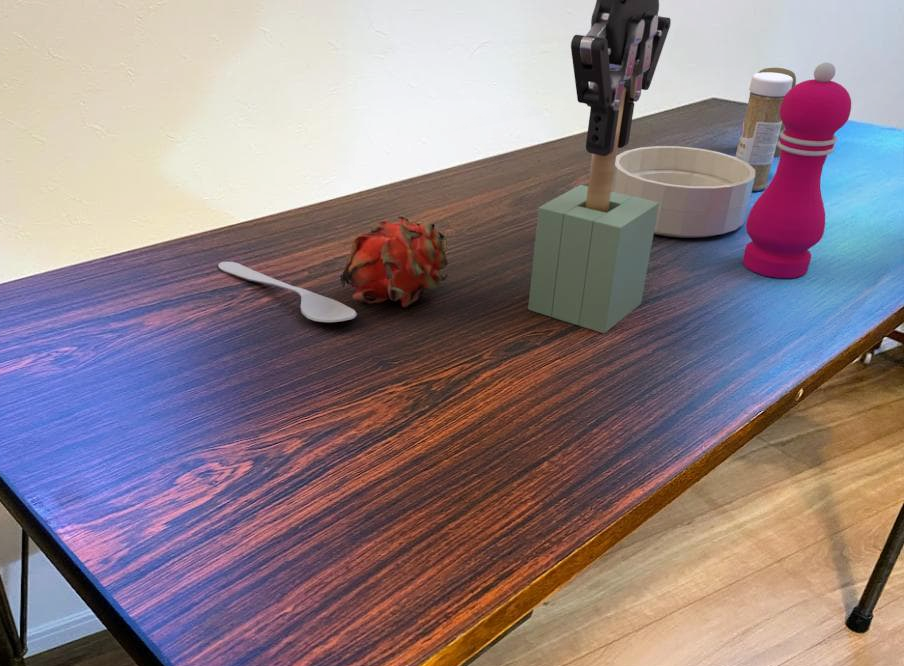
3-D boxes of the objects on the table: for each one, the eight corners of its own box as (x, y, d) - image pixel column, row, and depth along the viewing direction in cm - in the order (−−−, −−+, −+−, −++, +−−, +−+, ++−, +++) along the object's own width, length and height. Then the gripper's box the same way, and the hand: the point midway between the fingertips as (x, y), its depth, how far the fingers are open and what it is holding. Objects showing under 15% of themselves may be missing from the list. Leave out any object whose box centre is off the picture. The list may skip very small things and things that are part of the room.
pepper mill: (807, 286, 89) (868, 74, 78) (731, 272, 92) (779, 66, 81) (816, 260, 94) (873, 59, 83) (743, 248, 97) (790, 51, 86)
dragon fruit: (454, 300, 90) (353, 346, 86) (410, 232, 92) (309, 274, 88) (483, 255, 82) (372, 303, 78) (434, 182, 84) (324, 225, 80)
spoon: (335, 340, 80) (334, 323, 79) (204, 269, 93) (203, 254, 92) (369, 325, 82) (369, 309, 81) (238, 258, 95) (236, 243, 94)
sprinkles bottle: (725, 179, 116) (749, 70, 109) (762, 181, 116) (788, 71, 109) (732, 191, 112) (757, 79, 105) (770, 193, 112) (798, 80, 105)
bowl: (762, 212, 106) (774, 162, 103) (713, 252, 96) (725, 197, 93) (640, 186, 114) (648, 138, 111) (584, 220, 104) (590, 169, 101)
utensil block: (641, 304, 86) (659, 202, 80) (604, 334, 81) (621, 227, 75) (567, 282, 90) (580, 184, 84) (527, 309, 85) (538, 207, 79)
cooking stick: (597, 305, 85) (630, 86, 75) (587, 313, 84) (619, 91, 73) (578, 300, 86) (607, 83, 76) (568, 307, 85) (597, 87, 74)
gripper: (647, -71, 61) (610, 178, 71) (722, -84, 71) (681, 139, 80) (549, -77, 65) (526, 160, 75) (632, -88, 75) (603, 124, 84)
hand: (606, 148), depth 77 cm, fingers closed
